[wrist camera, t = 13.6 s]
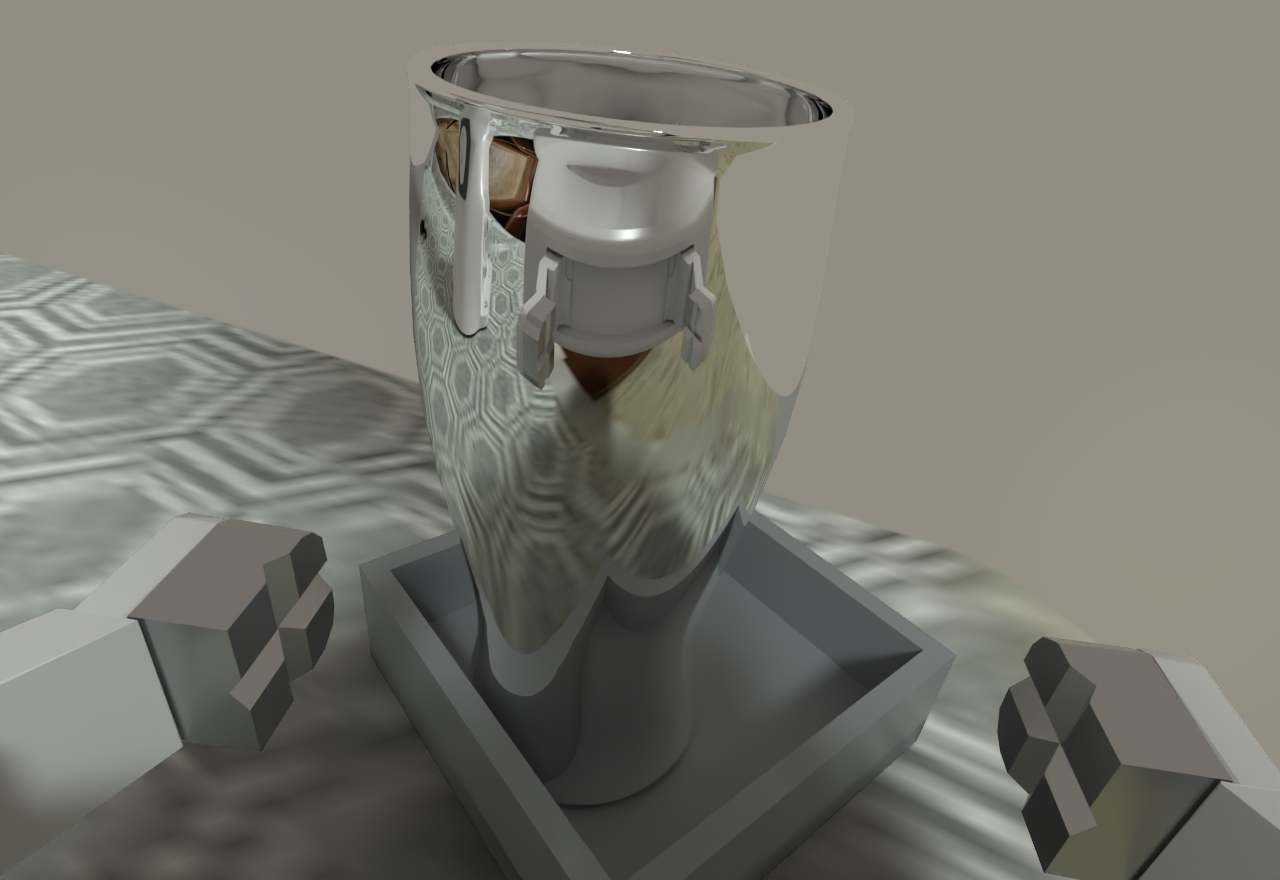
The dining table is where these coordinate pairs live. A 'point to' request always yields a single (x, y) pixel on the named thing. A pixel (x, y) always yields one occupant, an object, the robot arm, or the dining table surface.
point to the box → (724, 725)
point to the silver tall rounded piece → (608, 364)
